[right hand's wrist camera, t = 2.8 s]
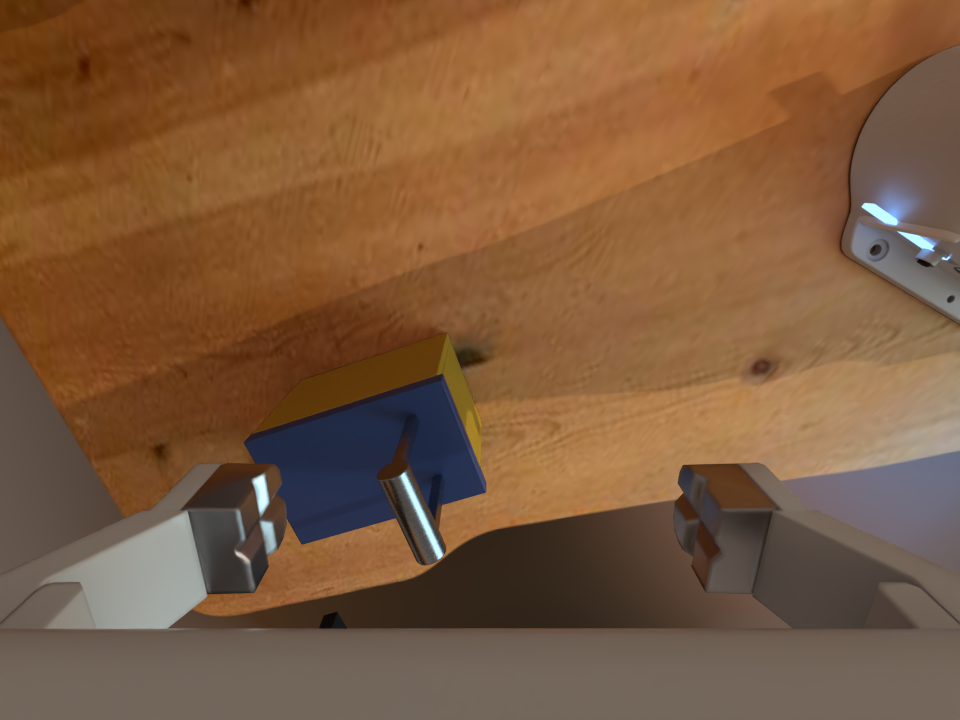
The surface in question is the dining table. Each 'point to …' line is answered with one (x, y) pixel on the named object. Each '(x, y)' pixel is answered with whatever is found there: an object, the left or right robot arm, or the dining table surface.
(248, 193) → the dining table surface
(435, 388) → the lid
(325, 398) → the chest
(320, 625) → the left robot arm
